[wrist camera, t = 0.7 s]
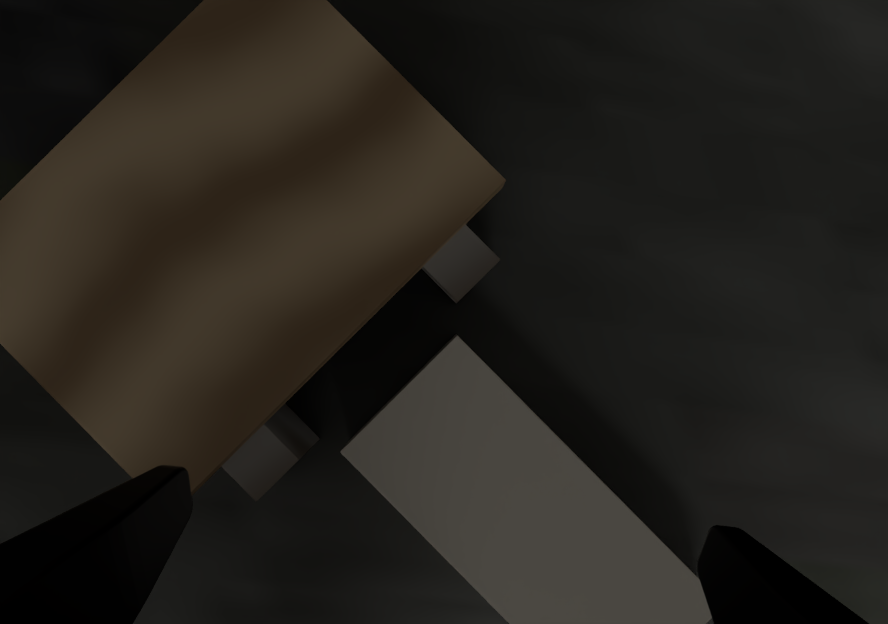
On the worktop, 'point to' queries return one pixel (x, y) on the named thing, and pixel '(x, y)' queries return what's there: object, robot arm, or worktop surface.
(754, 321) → the worktop surface
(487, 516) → the thin gray tile
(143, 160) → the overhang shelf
